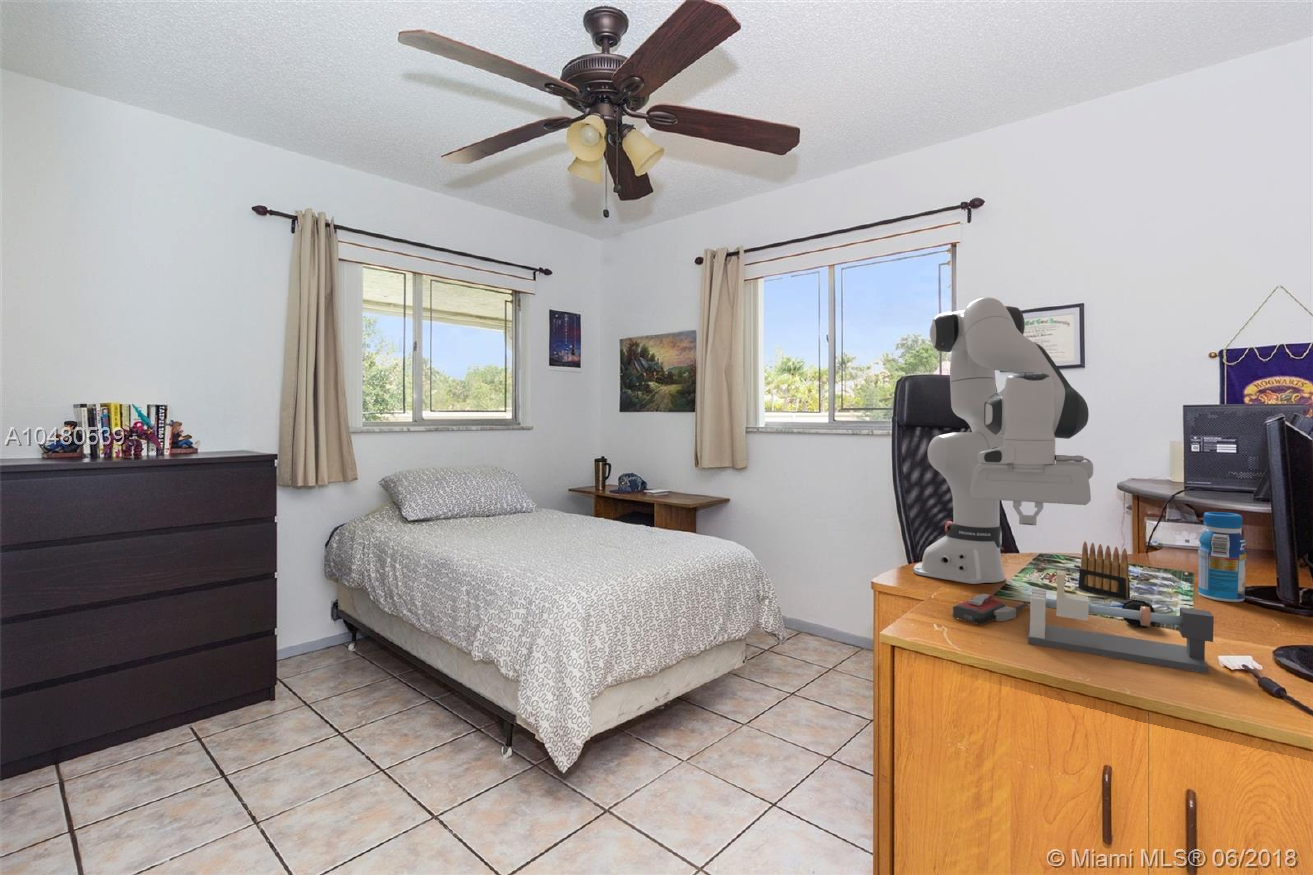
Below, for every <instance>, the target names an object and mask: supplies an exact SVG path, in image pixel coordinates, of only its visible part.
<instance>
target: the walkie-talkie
mask: <svg viewBox="0 0 1313 875" xmlns="http://www.w3.org/2000/svg"><path fill="white" fill-rule="evenodd" d="M1026 607H1029V604H1028V602H1023V603H1021V604H1018V605H1017V606H1014V607H1011V606H1007V605H1006V603H1005V602H1003V601H1001V600H997V599H996V600H995V597H994V595H992V594H988V593H982V592H981V593H980V594H977V595H976V594H975V596H974V597H973V598H971V599H968V600H966V601H963V602H960V603H957V604H956V605H953V606H952V618H954V619H956V618H959V619H958V620H960V619H961V621H964V620H965V621H964V622H968V623H972V624H975V623H977V624H976V625H981V624H983V625H985V623H986V624H987V623H989V622H992V621H995V620H996V622H997V621H999V622H1001V621H1002V622H1004V621H1005V622H1006V621H1009V620H1011V619H1014V618H1016V617H1017V612H1020V611H1022V610H1023V609H1024V608H1026Z"/></svg>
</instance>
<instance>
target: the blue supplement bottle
mask: <svg viewBox="0 0 1313 875" xmlns="http://www.w3.org/2000/svg"><path fill="white" fill-rule="evenodd" d="M1203 527H1206V529H1205V530H1203V532H1202V533H1201V535H1200V536H1199V539H1198V542H1199V544H1200V546H1199V547H1198V550H1197V554H1198V586H1197V587H1198V588H1197V593H1198V595H1199V596H1201V597H1202V598H1206V599H1209V600H1213V601H1219V602H1228V603H1241V602H1244V600H1245V598H1246V597H1245V592H1246V591H1245V590H1246V587H1245V586H1246V561H1247V553H1246V551H1245V548H1246V547H1247V542H1246V540H1245V538H1244V537H1243V535H1242V534H1241V533H1240V532H1239V530H1242V528H1243V516H1242V515H1241V514H1239V513H1232V512H1224V511H1207V512H1206V511H1205V512H1204V514H1203Z"/></svg>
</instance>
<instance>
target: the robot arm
mask: <svg viewBox="0 0 1313 875" xmlns="http://www.w3.org/2000/svg"><path fill="white" fill-rule="evenodd" d="M1025 329H1026V320H1025V317H1024V315H1023V312H1022V310H1021V309H1020V308H1019V307H1015V306H1011V305H1010V306H1009V305H1004V304H1003V303H1002V302H1001V301H1000V300H999V299H997V298H995V297H981V298H978V299H976V300H973V301H972V302H970V303H969V304H968V306H967V307H966V308H965V309H962V310H961V309H960V310H957V311H946V312H942V313H939V314H937V315H936V316H935V317H934V318H933V319H932V323H931V325H930V328H929V338H930V340H931V343H932V345H933V348H934V349H935V350H936V351H938V352H943V353H951V357H950V364H949V367H950V368H949V386H950V387H949V389H950V390H949V391H950V403H951V404H950V406H951V410H952V412H953V413H954V414H955V416H957V417H958V418H960V419H962V420H964V421H965V422H966V423H967V424H968V426H969V427H970V429H971V431H970V432H969V431H968V432H966V431H965V432H950V433H944V434H939V435H936V436H934V437H933V438H932V439H931V441H930V442H929V444H928V446H927V458H928V461H929V464H930V466H932V468H934V470H936V471H937V472H938V473H940V475H942V476H943V478H944V479H945V481H946V482H947V484H948V486H949V488H950V492H951V495H952V496H951V497H952V510H953V515H952V516H953V519H952V520H953V521H950V520H949V521H947V522H946V523H945V524H944V533H945V535H944V536H943V537H941V538H939V539H938V540H936V541H935V542H933V543H932V544H930V545H929V546H927V547H926V548H925V550H924V552H923V555H922V561H921V562H918V563H916V564H915V565H914V566H913V573H914V574H916V575H918V576H924V577H929V578H935V579H942V580H949V581H954V582H958V583H965V584H969V585H971V584H972V585H978V584H985V583H986V584H987V583H991V584H992V583H1001V582H1004V581H1006V579H1007V577H1006V574H1005V572H1004V571H1005V570H1004V567H1003V563H1002V562H1003V561H1002V555H1001V547H1002V539H1003V537H1002V536H1003V535H1002V534H1003V533H1002V526H1001V525H1000V512H1001V511H1000V501H1010V502H1012V507H1013V509H1014V511H1015V512H1016V514H1017V516H1019V517H1018V521H1019V522H1018V524H1019V525H1023V526H1025V525H1027V526H1037V522H1038V520H1037V518H1038V517H1039V515H1040V514H1041V512H1042V511H1043V509H1044V503H1045V504H1058V505H1059V504H1062V505H1077V506H1086V505H1087V506H1088V504H1089V503H1090V502H1091V501H1092V500H1091V498H1092V496H1091V495H1092V494H1091V485H1090V479H1091V478H1093V476H1094V464H1093V462H1092V461H1091V460H1090V459H1088V458H1086V457H1085V456H1084V455H1065V454H1056V439H1067V440H1068V439H1071V438H1073V437H1075V436H1076V435H1077V434H1078V433H1079V432H1081V431H1082V430H1083V429H1084V428H1086V426H1087V425H1088V422H1089V415H1090V414H1089V407H1088V403H1087V402H1086V400H1085V398H1084V397H1083V395H1081V394H1080V393H1079V392H1078V391H1077V390H1076V389H1075V388H1074V387H1072V386H1071V384H1070V383H1069V381H1068V380H1067V378H1066V377H1065V375H1064V374H1063V373H1062V372H1061V370H1060V369H1059V367H1058V366H1057V365H1056V362H1054V360H1053V358H1052V357H1051V356H1050V355H1049V353H1048V352H1047V351H1046V349H1045V348H1044V347H1043V346H1042V345H1041V344H1038V343H1037V342H1035V341H1033V340H1031V339H1029V338H1028V337H1027V336H1025V333H1024V332H1025ZM995 371H999V372H1005V373H1006V372H1007V373H1010V375H1008V376H1007V377H1006V380H1005V384H1004V388H1003V389H1002V390H1001V391H999V392H997V382H996V381H997V380H996V372H995ZM1022 502H1024V503H1025V502H1026V503H1027V502H1028V503H1034V508H1035V509H1036V510H1035V511H1034V512H1033V514H1024V512H1023V511H1022V510H1021V507H1022Z"/></svg>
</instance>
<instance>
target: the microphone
mask: <svg viewBox="0 0 1313 875" xmlns="http://www.w3.org/2000/svg"><path fill="white" fill-rule="evenodd" d="M1141 606H1144V607H1150V612H1151V613H1156V612H1155V608H1154V607H1153V604H1151V603H1150V602H1148V601H1145V600H1140V599H1131V600H1128V601H1126V602H1123V605H1122V608H1121V609H1129V610H1136V611H1140V608H1141ZM1123 620H1124V621H1125V622H1126V623H1127V624H1129V625H1130V626H1132V627H1138V628H1144V627H1145V628H1148V627H1149V626H1143V625H1141V623H1140V620H1136V619H1129V618H1123ZM1153 624H1154V622H1151V623H1150V626H1153Z"/></svg>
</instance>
